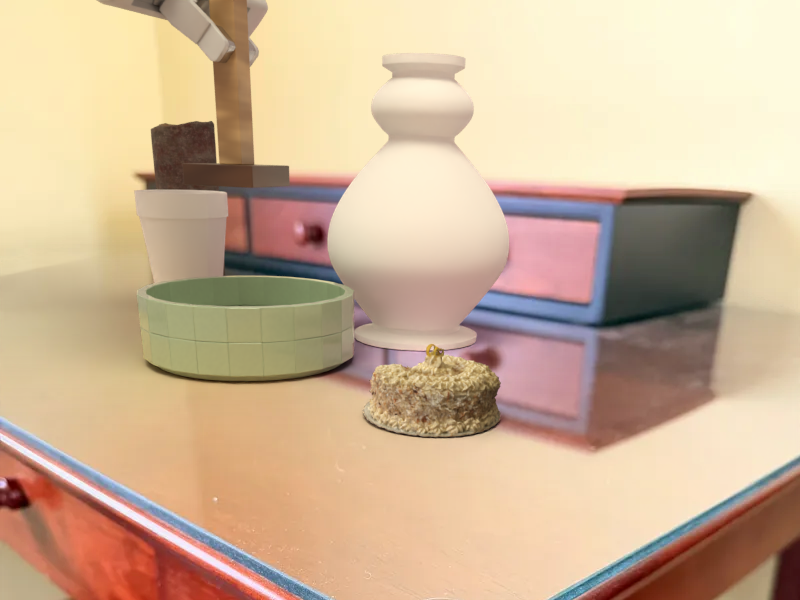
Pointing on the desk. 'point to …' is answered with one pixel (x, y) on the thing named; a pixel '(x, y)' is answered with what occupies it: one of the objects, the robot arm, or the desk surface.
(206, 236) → the white flower pot
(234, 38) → the wooden post stand
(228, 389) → the desk surface
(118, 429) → the desk surface
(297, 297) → the bowl
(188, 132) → the dark brown tall block
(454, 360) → the cake
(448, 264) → the decorative vase
